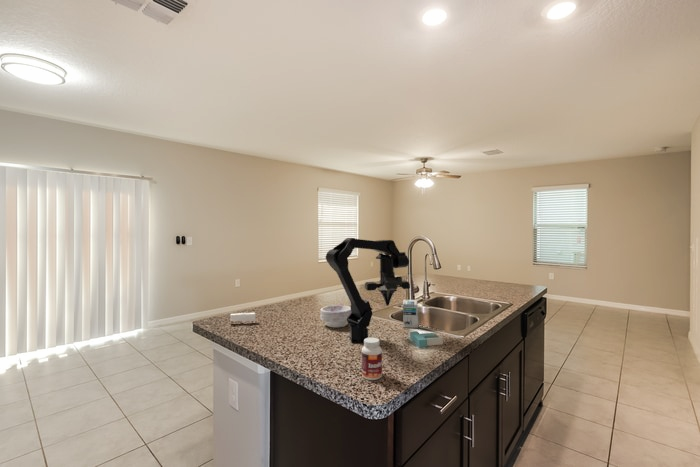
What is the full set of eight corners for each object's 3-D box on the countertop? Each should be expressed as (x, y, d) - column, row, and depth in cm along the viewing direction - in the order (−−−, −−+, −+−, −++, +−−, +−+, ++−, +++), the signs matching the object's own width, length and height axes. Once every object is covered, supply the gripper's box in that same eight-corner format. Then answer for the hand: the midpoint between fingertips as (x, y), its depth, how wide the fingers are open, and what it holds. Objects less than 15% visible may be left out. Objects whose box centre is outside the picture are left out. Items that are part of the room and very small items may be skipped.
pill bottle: (368, 382, 92) (368, 345, 92) (357, 374, 98) (357, 338, 98) (386, 377, 95) (385, 341, 95) (374, 370, 101) (374, 335, 101)
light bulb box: (418, 328, 143) (417, 304, 143) (403, 327, 144) (402, 304, 144) (418, 321, 153) (417, 299, 153) (403, 321, 155) (403, 299, 155)
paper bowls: (342, 318, 161) (342, 303, 161) (359, 326, 148) (358, 309, 148) (315, 323, 153) (314, 307, 153) (329, 332, 140) (329, 314, 140)
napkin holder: (223, 326, 152) (223, 314, 152) (240, 320, 162) (240, 309, 162) (248, 330, 146) (247, 317, 146) (264, 323, 156) (263, 311, 156)
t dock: (427, 345, 121) (427, 339, 121) (420, 339, 128) (420, 333, 128) (442, 344, 122) (442, 337, 122) (435, 338, 129) (435, 332, 129)
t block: (419, 348, 119) (419, 340, 119) (410, 339, 129) (409, 331, 129) (439, 346, 120) (439, 338, 120) (428, 337, 130) (428, 330, 130)
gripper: (369, 272, 127) (370, 311, 127) (414, 270, 130) (414, 308, 130) (364, 269, 138) (364, 304, 138) (405, 267, 141) (405, 302, 141)
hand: (387, 305), depth 137 cm, fingers closed
